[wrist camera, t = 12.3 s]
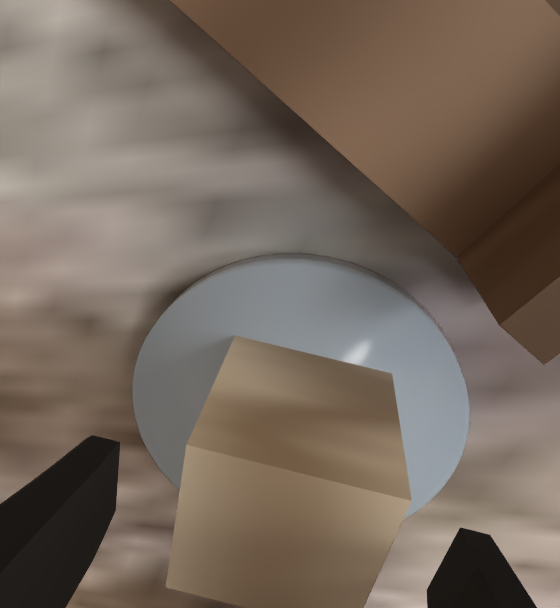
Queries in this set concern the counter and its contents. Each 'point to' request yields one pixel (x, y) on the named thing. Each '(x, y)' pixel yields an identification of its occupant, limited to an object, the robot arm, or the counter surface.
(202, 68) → the counter surface
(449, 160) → the board
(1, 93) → the counter surface
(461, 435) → the saucer
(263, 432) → the block
